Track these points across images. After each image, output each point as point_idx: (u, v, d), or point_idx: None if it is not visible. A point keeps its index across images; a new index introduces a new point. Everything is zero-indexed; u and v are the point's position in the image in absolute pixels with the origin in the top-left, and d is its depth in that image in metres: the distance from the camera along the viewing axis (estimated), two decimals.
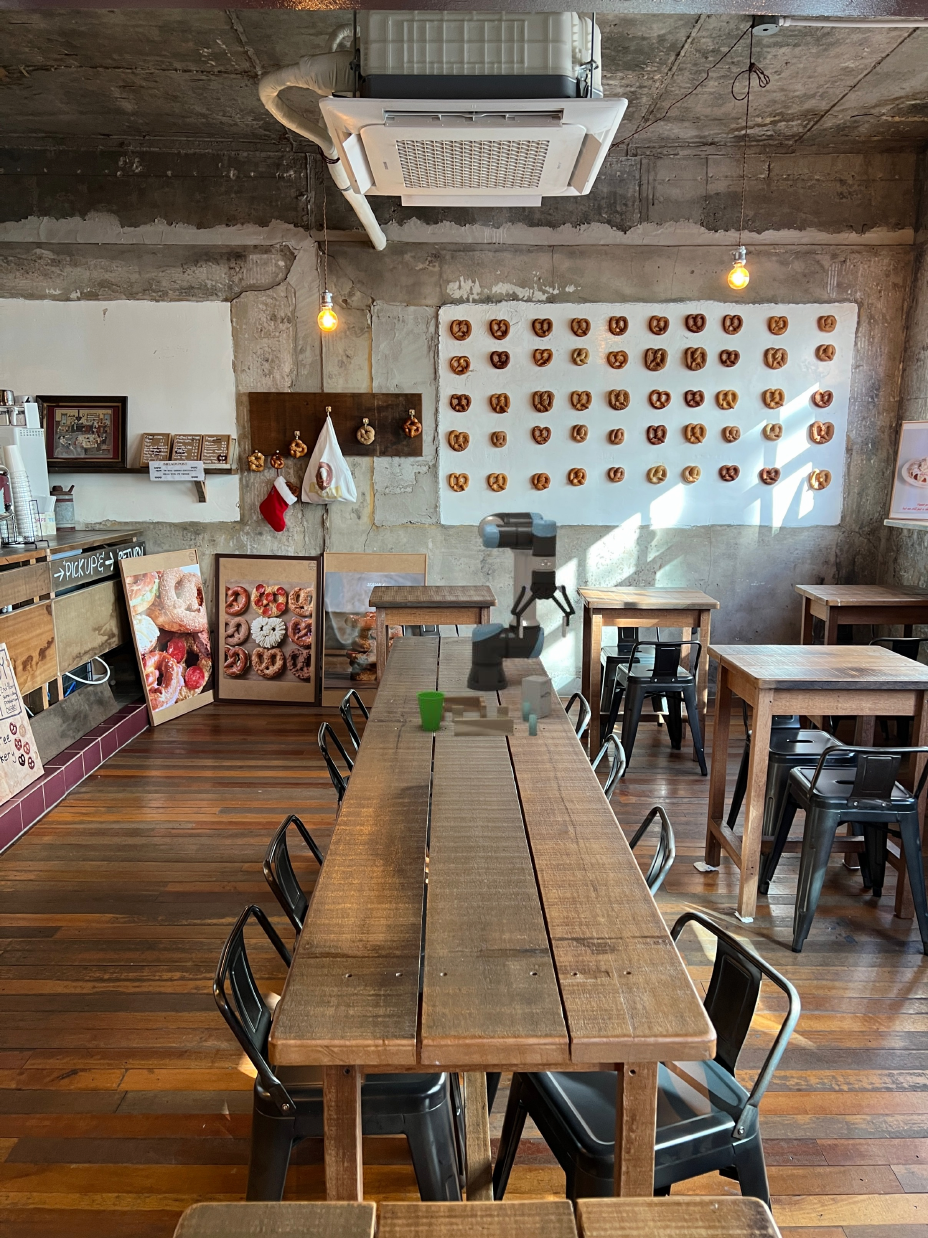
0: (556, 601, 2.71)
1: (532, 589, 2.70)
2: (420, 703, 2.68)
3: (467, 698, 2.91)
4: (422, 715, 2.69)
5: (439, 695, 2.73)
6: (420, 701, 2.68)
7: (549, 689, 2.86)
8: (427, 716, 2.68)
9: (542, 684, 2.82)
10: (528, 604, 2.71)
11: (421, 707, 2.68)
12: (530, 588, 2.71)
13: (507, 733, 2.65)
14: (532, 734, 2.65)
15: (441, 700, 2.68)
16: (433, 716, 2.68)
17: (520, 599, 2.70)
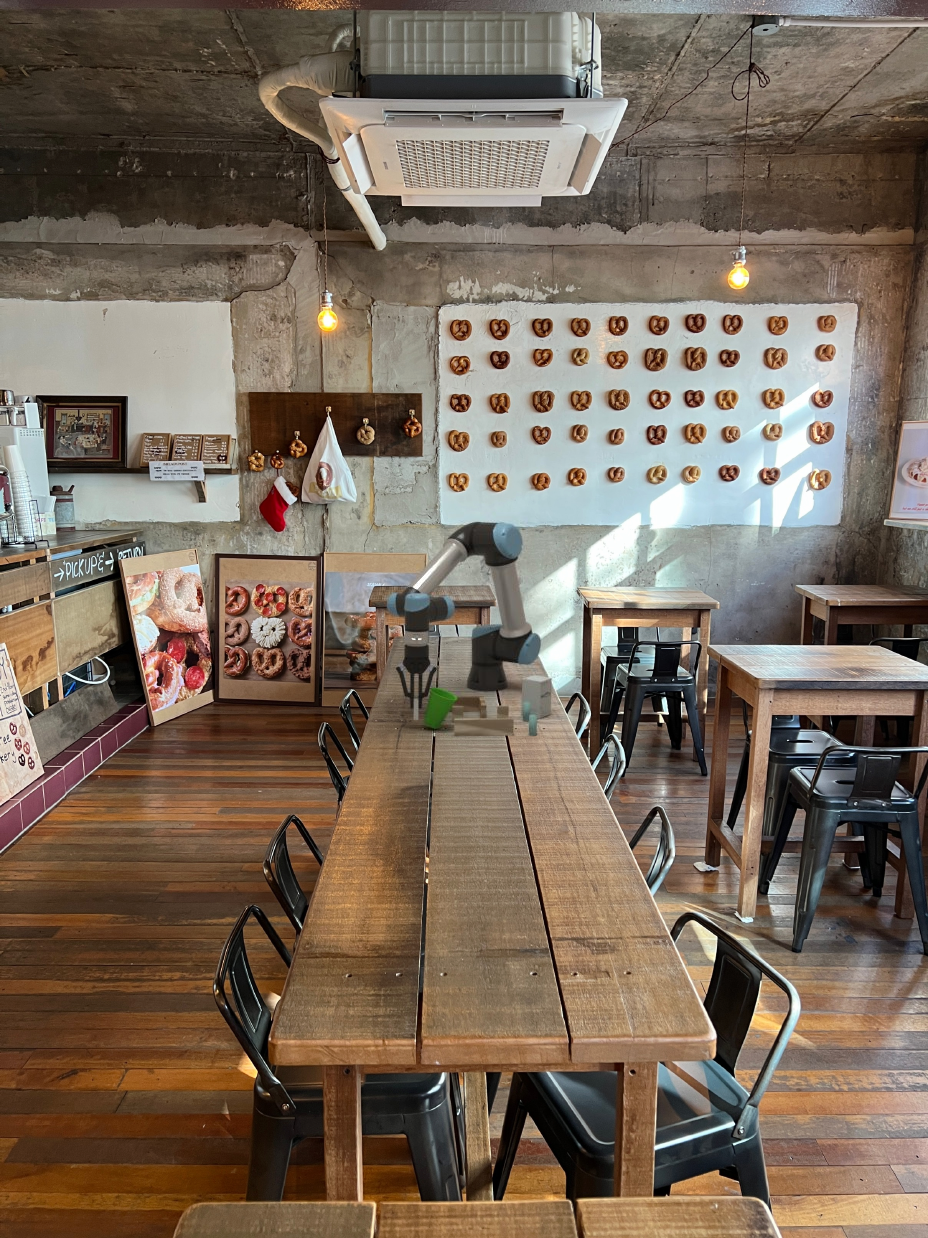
0: (420, 679, 2.68)
1: (405, 664, 2.67)
2: (431, 698, 2.68)
3: (467, 698, 2.91)
4: (429, 710, 2.69)
5: (451, 697, 2.73)
6: (432, 696, 2.68)
7: (549, 689, 2.86)
8: (433, 713, 2.68)
9: (542, 684, 2.82)
10: (412, 682, 2.68)
11: (431, 702, 2.68)
12: (403, 665, 2.67)
13: (507, 733, 2.65)
14: (532, 734, 2.65)
15: (452, 702, 2.68)
16: (438, 715, 2.68)
17: (402, 679, 2.68)
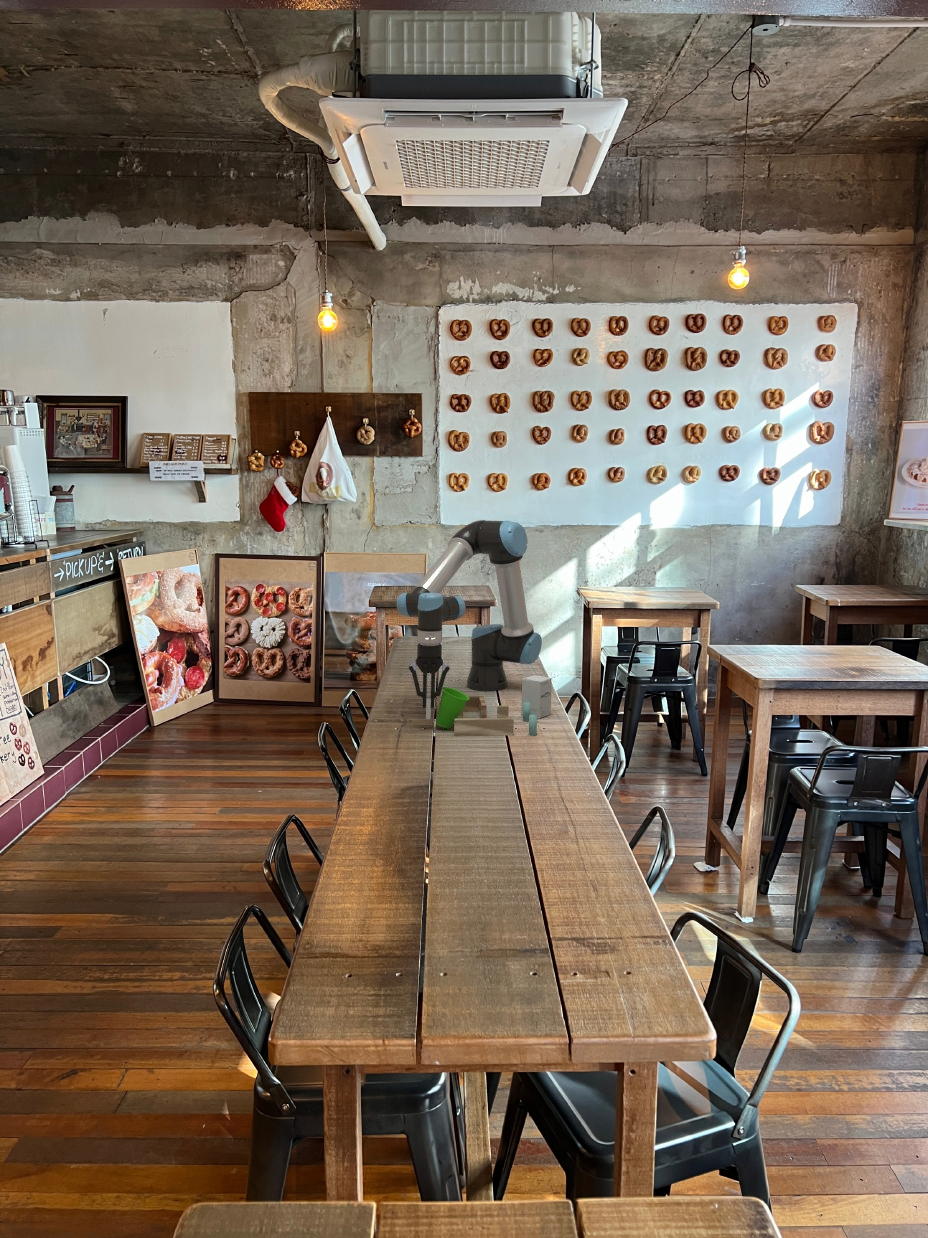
0: (432, 678, 2.68)
1: (418, 664, 2.67)
2: (444, 698, 2.68)
3: None
4: (441, 709, 2.69)
5: (463, 697, 2.73)
6: (445, 696, 2.68)
7: (549, 689, 2.86)
8: (445, 712, 2.68)
9: (542, 684, 2.82)
10: (425, 682, 2.68)
11: (443, 702, 2.68)
12: (416, 664, 2.68)
13: (507, 733, 2.65)
14: (532, 734, 2.65)
15: (464, 702, 2.69)
16: (451, 714, 2.68)
17: (415, 679, 2.68)
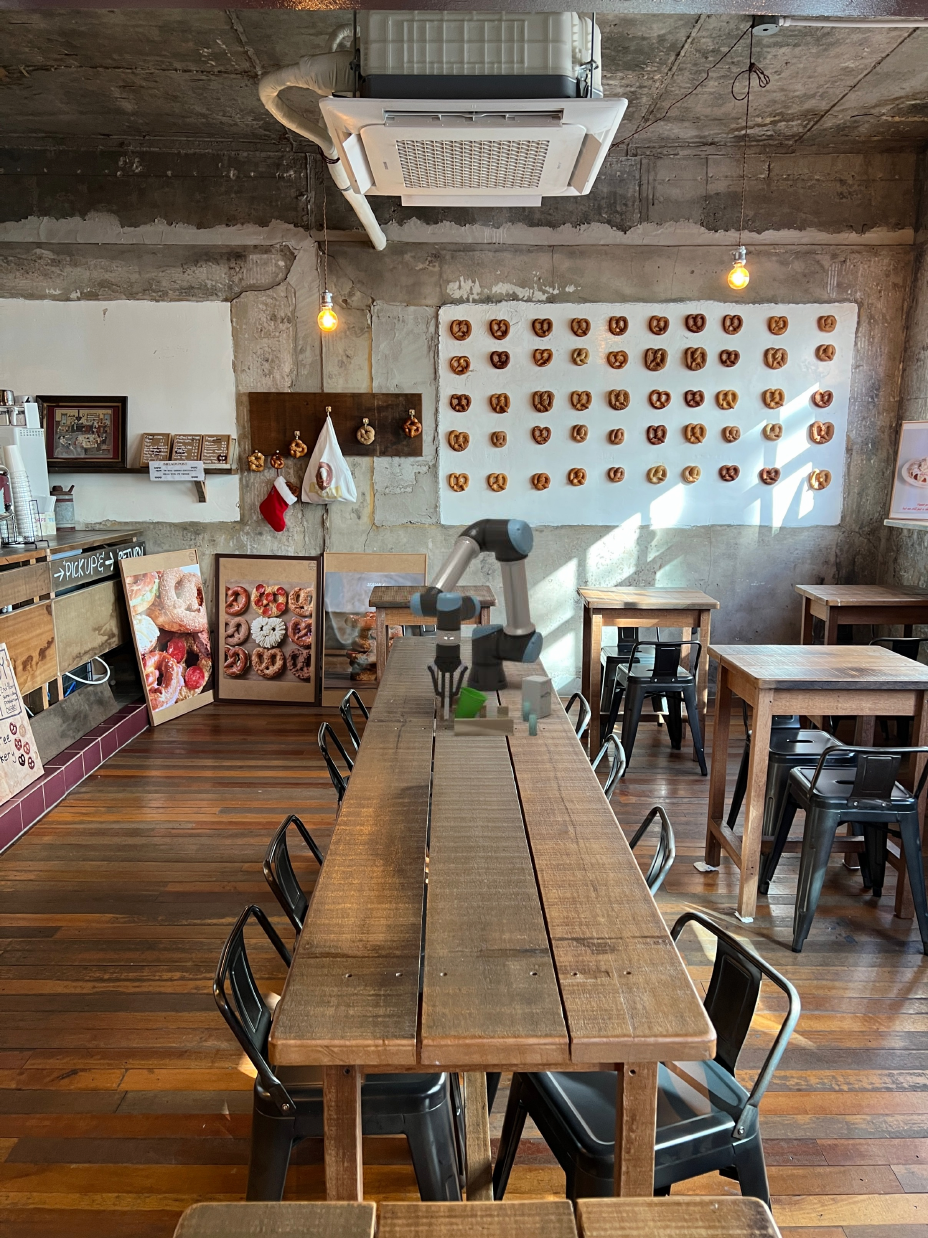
0: (451, 678, 2.68)
1: (437, 663, 2.67)
2: (462, 697, 2.68)
3: None
4: (459, 709, 2.69)
5: (480, 696, 2.74)
6: (463, 695, 2.68)
7: (549, 689, 2.86)
8: (464, 712, 2.68)
9: (542, 684, 2.82)
10: (443, 681, 2.68)
11: (462, 701, 2.69)
12: (435, 664, 2.68)
13: (507, 733, 2.65)
14: (532, 734, 2.65)
15: (483, 702, 2.69)
16: (469, 714, 2.68)
17: (434, 678, 2.68)
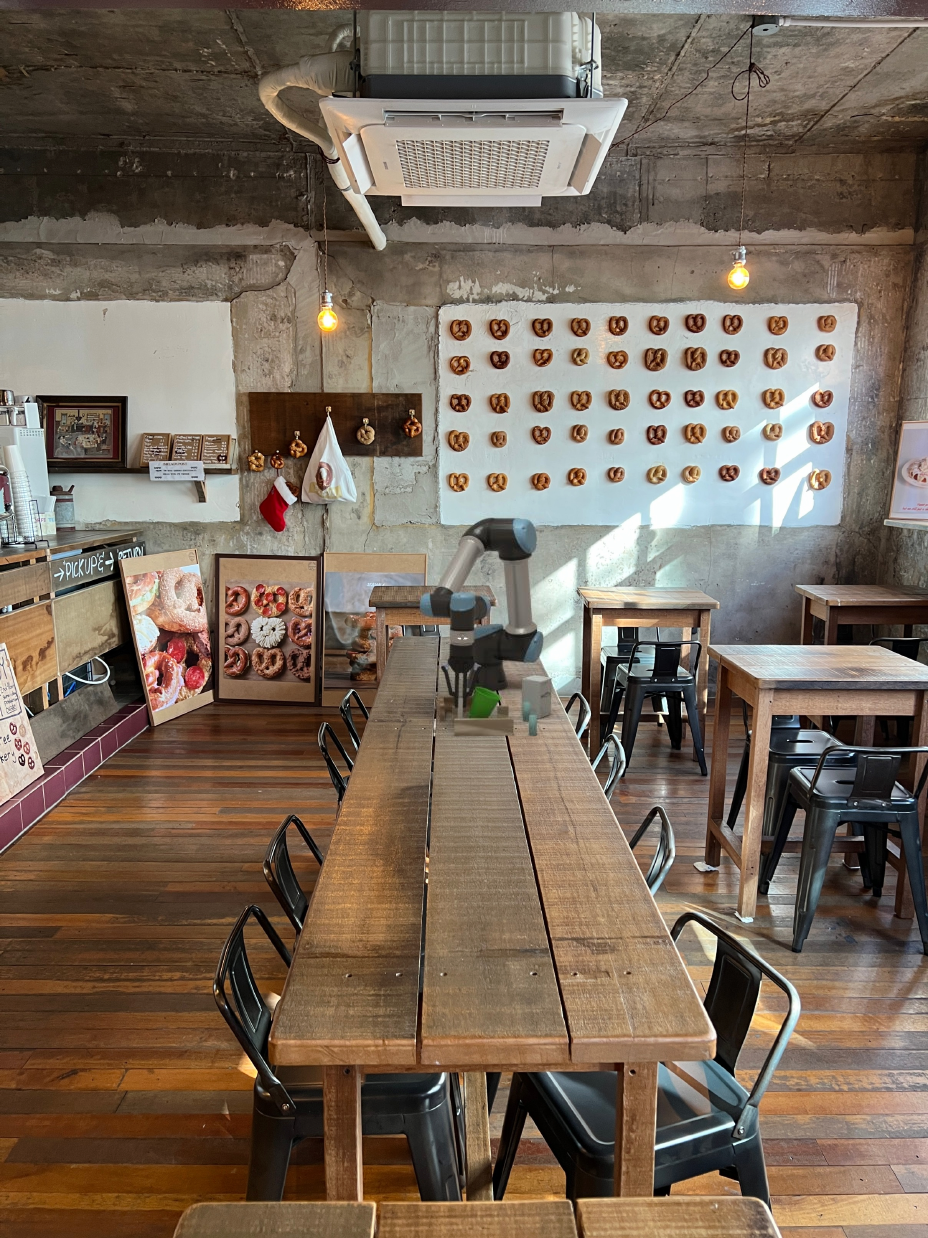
0: (465, 678, 2.68)
1: (450, 663, 2.68)
2: (476, 697, 2.69)
3: (467, 698, 2.91)
4: (473, 709, 2.70)
5: (494, 696, 2.74)
6: (477, 695, 2.68)
7: (549, 689, 2.86)
8: (478, 712, 2.69)
9: (542, 684, 2.82)
10: (457, 682, 2.69)
11: (475, 701, 2.69)
12: (448, 664, 2.68)
13: (507, 733, 2.65)
14: (532, 734, 2.65)
15: (497, 702, 2.69)
16: (483, 714, 2.69)
17: (447, 679, 2.68)
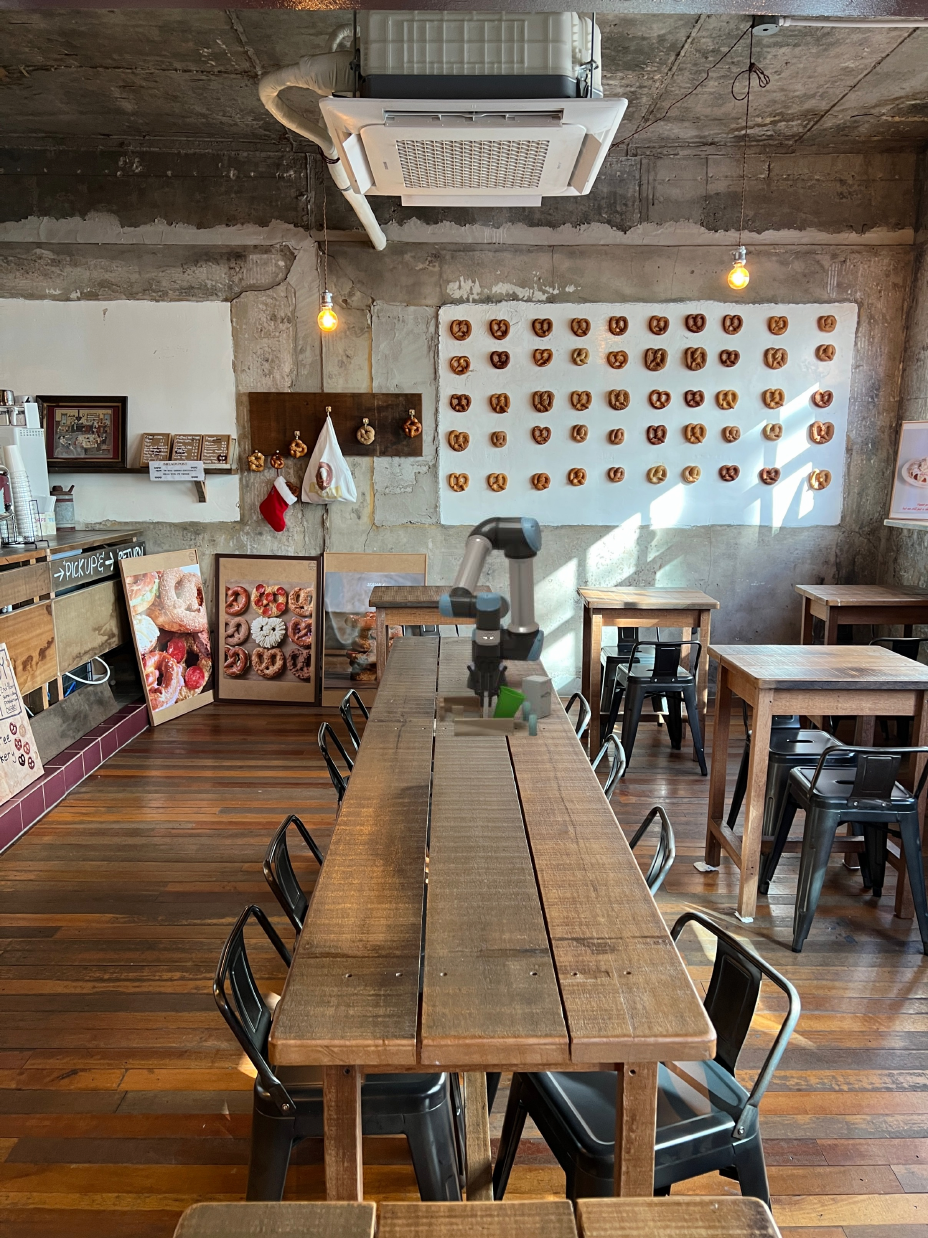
0: (490, 678, 2.69)
1: (476, 663, 2.68)
2: (502, 697, 2.69)
3: (467, 698, 2.91)
4: (499, 708, 2.70)
5: (518, 695, 2.75)
6: (503, 695, 2.69)
7: (549, 689, 2.86)
8: (504, 711, 2.69)
9: (542, 684, 2.82)
10: (483, 681, 2.69)
11: (501, 701, 2.69)
12: (474, 663, 2.68)
13: (507, 733, 2.65)
14: (532, 734, 2.65)
15: (522, 701, 2.70)
16: (509, 713, 2.70)
17: (473, 678, 2.69)
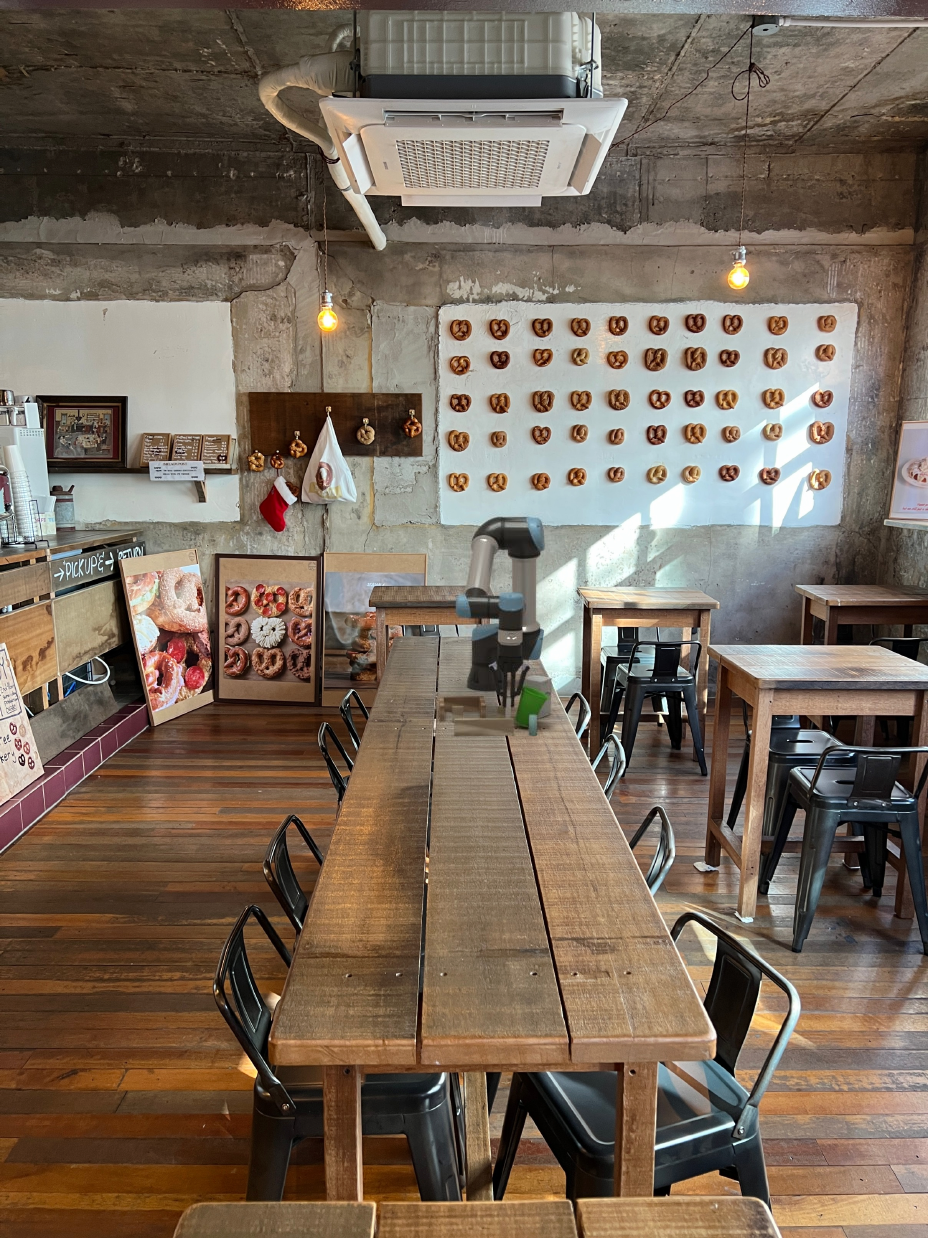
0: (513, 678, 2.69)
1: (499, 663, 2.68)
2: (525, 697, 2.70)
3: (467, 698, 2.91)
4: (521, 708, 2.71)
5: (540, 695, 2.75)
6: (526, 695, 2.69)
7: (549, 689, 2.86)
8: (527, 711, 2.70)
9: (541, 684, 2.82)
10: (505, 681, 2.69)
11: (524, 701, 2.70)
12: (497, 663, 2.69)
13: (507, 733, 2.65)
14: (532, 734, 2.65)
15: None
16: (532, 713, 2.70)
17: (496, 678, 2.69)
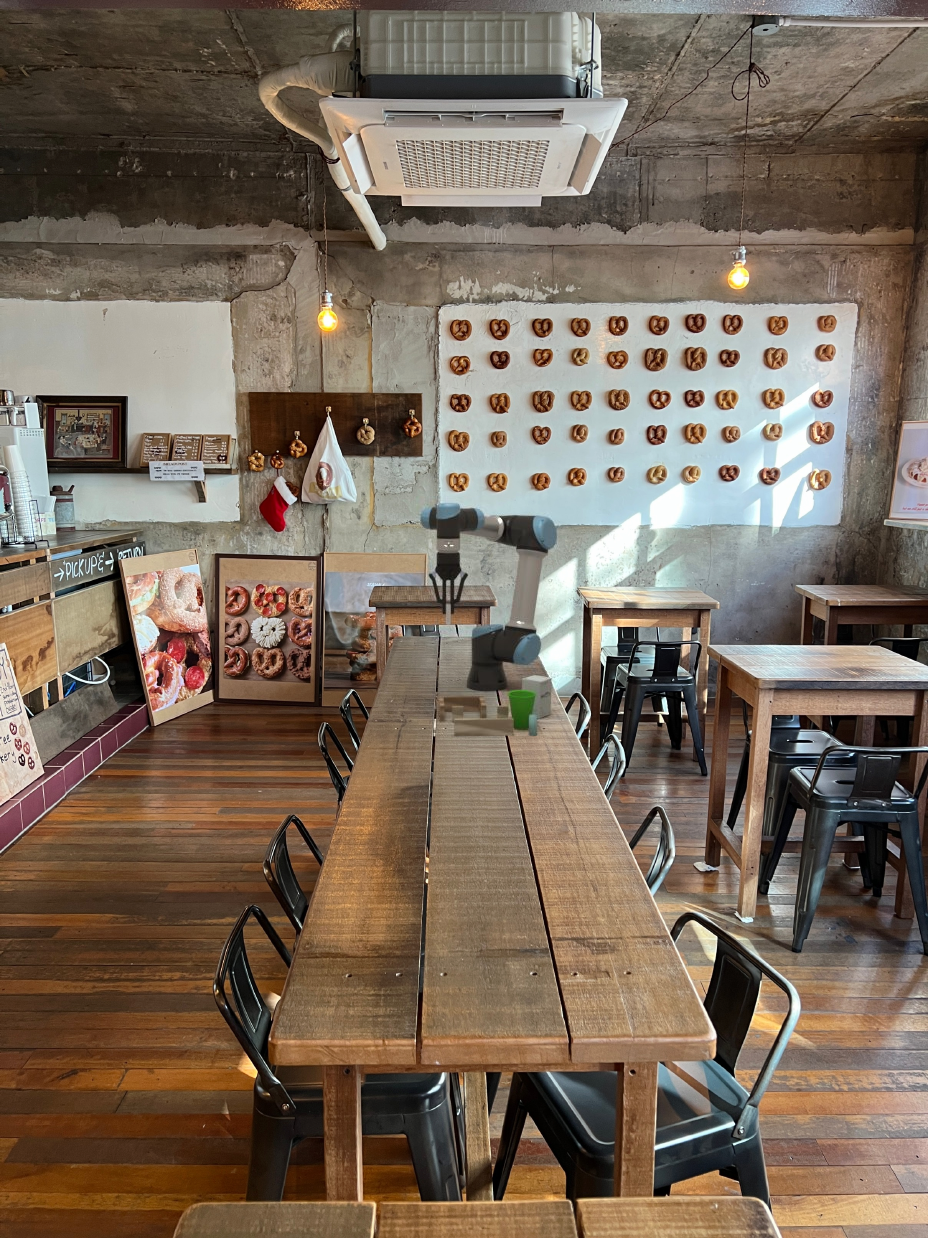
0: (452, 585, 2.80)
1: (438, 571, 2.79)
2: (513, 702, 2.70)
3: (467, 698, 2.91)
4: (514, 714, 2.71)
5: (529, 694, 2.75)
6: (513, 700, 2.70)
7: (549, 689, 2.86)
8: (520, 715, 2.70)
9: (542, 684, 2.82)
10: (444, 588, 2.80)
11: (514, 706, 2.70)
12: (436, 571, 2.79)
13: (507, 733, 2.65)
14: (532, 734, 2.65)
15: (533, 698, 2.70)
16: (525, 715, 2.70)
17: (435, 586, 2.80)
